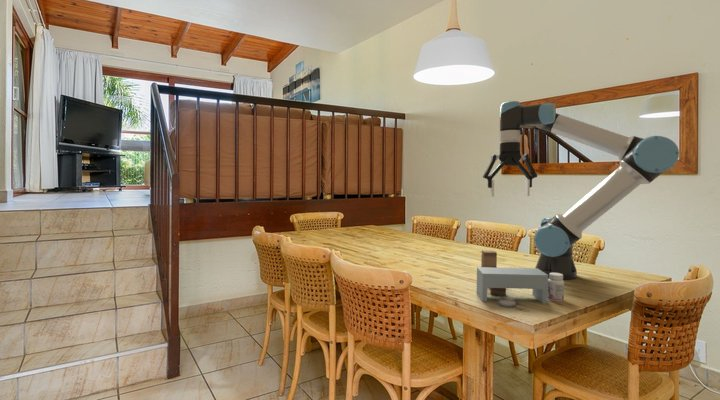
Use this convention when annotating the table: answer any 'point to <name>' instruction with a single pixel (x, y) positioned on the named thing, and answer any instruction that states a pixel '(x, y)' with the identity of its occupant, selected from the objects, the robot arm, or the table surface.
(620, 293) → the table surface
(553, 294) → the pill bottle
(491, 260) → the brown angled block
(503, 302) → the steel puck
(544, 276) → the bench
